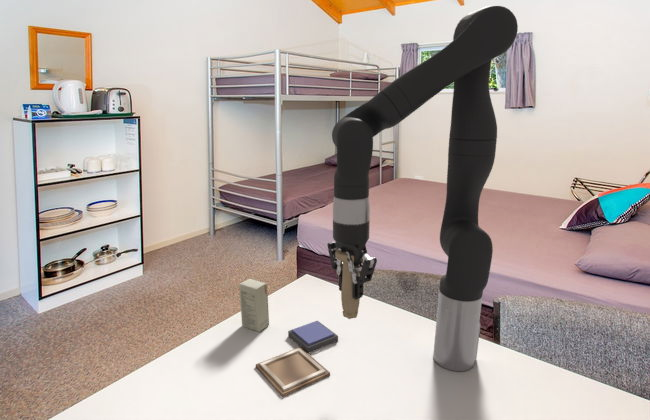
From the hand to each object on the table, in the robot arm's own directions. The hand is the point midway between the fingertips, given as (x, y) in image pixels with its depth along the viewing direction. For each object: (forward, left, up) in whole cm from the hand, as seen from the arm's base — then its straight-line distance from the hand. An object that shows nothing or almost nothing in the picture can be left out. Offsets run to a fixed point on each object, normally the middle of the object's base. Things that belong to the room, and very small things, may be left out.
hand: (350, 293), depth 92 cm
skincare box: (+9, -28, -18) cm, 35 cm away
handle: (0, 0, -6) cm, 6 cm away
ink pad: (0, -14, -18) cm, 23 cm away
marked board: (+11, -6, -18) cm, 22 cm away
